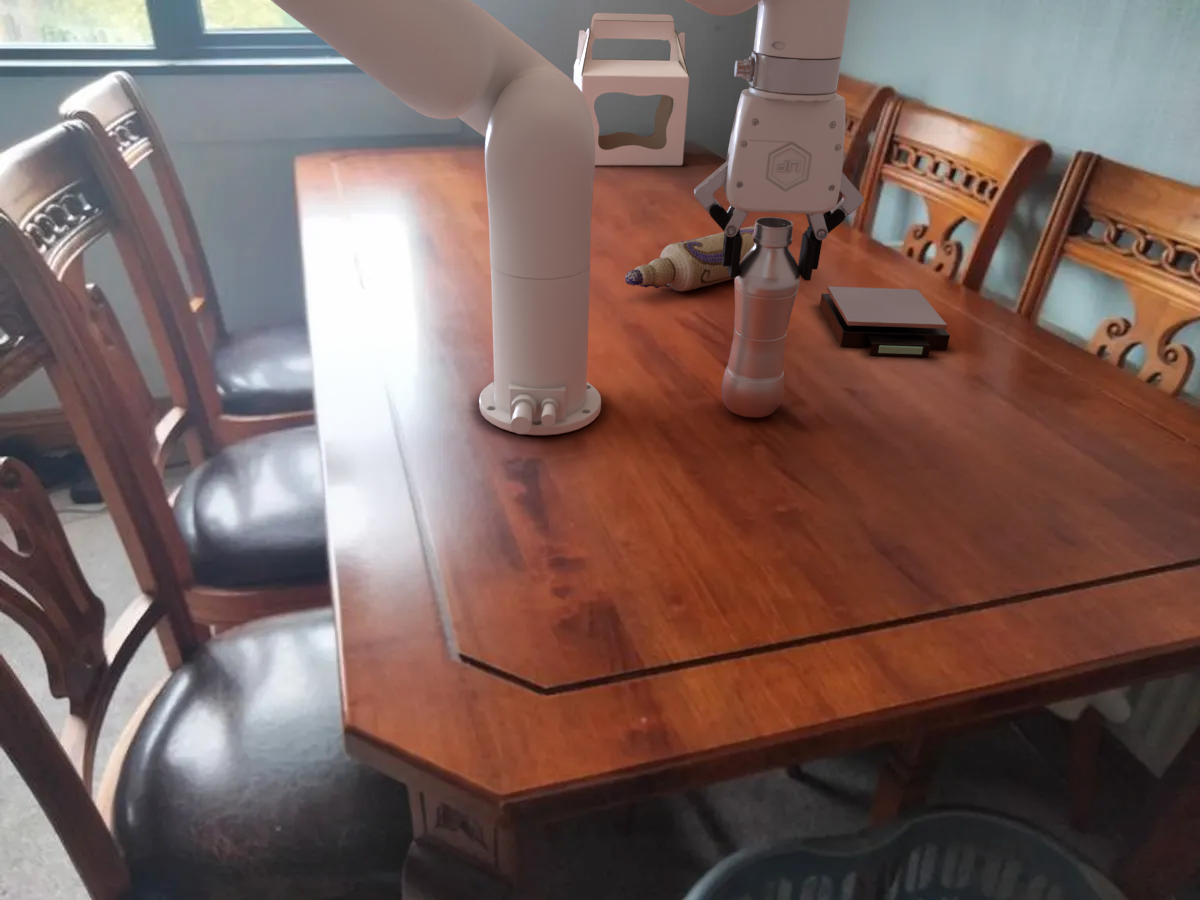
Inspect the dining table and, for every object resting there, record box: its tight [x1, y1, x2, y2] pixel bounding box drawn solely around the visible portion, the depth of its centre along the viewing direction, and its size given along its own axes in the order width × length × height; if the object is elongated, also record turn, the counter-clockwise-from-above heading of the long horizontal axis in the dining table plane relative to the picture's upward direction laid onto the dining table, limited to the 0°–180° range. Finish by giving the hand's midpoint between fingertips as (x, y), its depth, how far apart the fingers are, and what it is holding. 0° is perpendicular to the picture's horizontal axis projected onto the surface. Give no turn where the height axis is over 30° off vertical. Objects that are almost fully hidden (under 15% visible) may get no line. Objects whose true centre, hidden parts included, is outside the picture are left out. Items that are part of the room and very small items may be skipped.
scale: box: [819, 285, 951, 358], centre depth 115 cm, size 16×13×3 cm
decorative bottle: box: [624, 224, 755, 292], centre depth 127 cm, size 26×8×7 cm, turn 125°
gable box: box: [573, 12, 690, 167], centre depth 187 cm, size 22×13×28 cm, turn 98°
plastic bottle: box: [721, 216, 801, 418], centre depth 91 cm, size 6×7×20 cm
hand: (768, 273), depth 88 cm, fingers closed on plastic bottle, 6 cm apart
